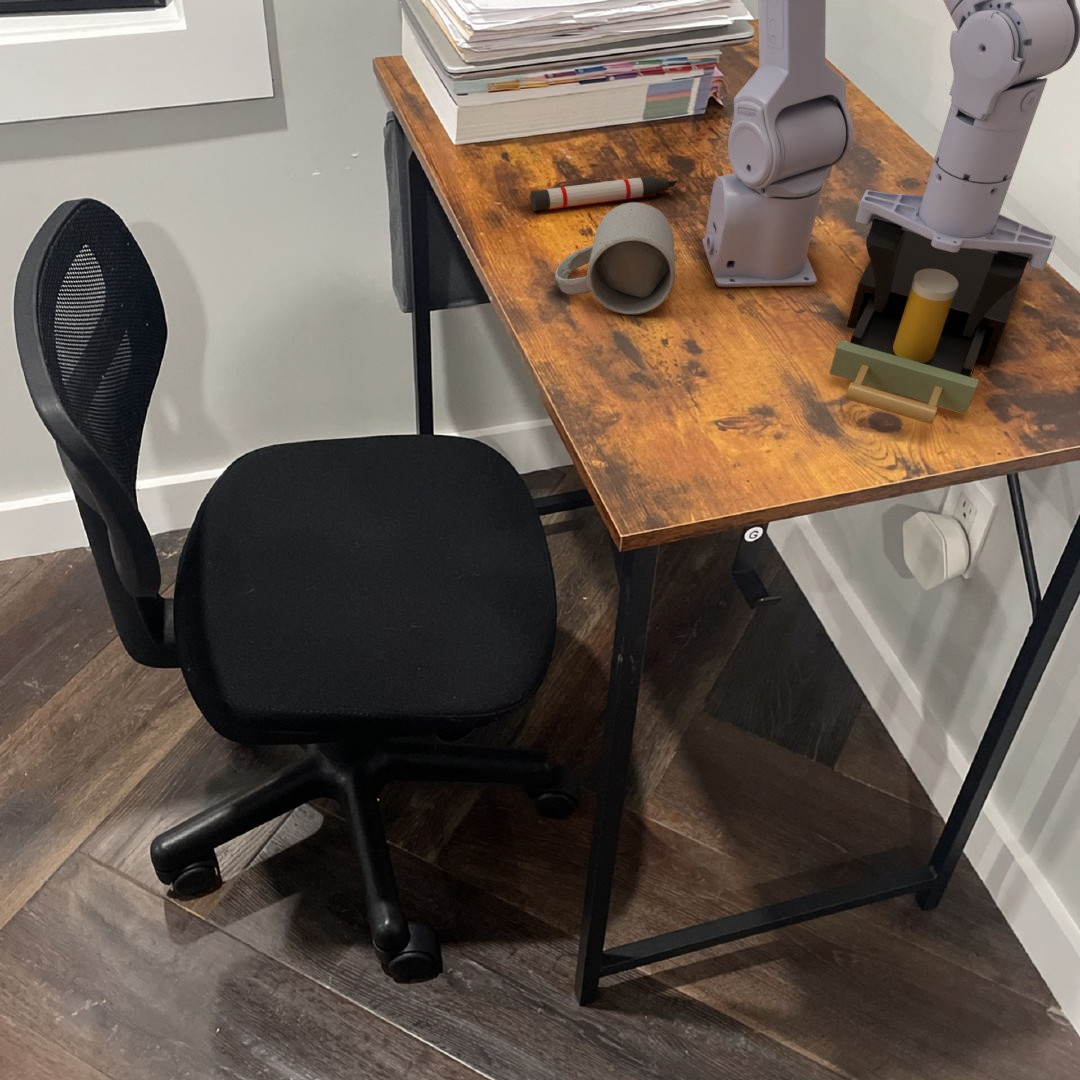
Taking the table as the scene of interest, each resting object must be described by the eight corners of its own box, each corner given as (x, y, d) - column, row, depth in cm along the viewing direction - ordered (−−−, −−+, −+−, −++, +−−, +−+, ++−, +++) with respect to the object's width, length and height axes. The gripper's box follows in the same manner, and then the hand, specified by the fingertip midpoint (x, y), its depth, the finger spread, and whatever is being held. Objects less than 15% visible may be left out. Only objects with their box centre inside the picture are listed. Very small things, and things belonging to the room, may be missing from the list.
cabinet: (989, 367, 98) (1006, 322, 95) (846, 326, 102) (858, 282, 98) (1015, 287, 107) (1032, 244, 103) (883, 252, 110) (895, 210, 107)
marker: (535, 215, 113) (535, 197, 112) (529, 205, 114) (530, 187, 113) (678, 196, 116) (681, 178, 115) (671, 187, 118) (674, 169, 116)
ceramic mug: (670, 267, 107) (678, 193, 102) (670, 318, 102) (679, 242, 96) (558, 262, 108) (560, 187, 102) (552, 311, 102) (554, 236, 97)
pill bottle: (898, 364, 95) (921, 293, 90) (886, 339, 97) (908, 268, 92) (939, 363, 95) (964, 292, 90) (926, 338, 97) (950, 267, 92)
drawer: (955, 445, 89) (966, 418, 87) (814, 402, 93) (822, 375, 91) (993, 333, 100) (1003, 306, 98) (866, 298, 103) (873, 271, 101)
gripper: (864, 164, 83) (825, 318, 93) (1068, 213, 79) (1005, 369, 89) (887, 124, 88) (847, 275, 98) (1081, 169, 84) (1020, 322, 93)
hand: (924, 317), depth 94 cm, fingers open, 7 cm apart
